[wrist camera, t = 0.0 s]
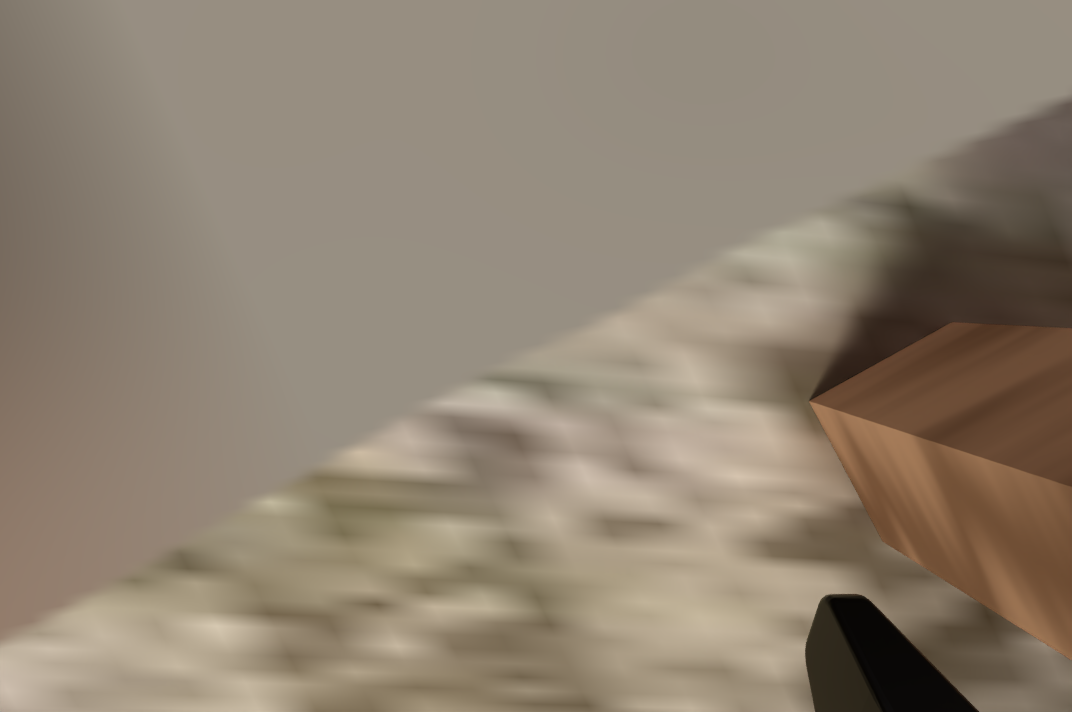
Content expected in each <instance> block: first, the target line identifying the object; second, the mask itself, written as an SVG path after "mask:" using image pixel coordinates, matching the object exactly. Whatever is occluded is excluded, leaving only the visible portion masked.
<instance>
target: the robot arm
mask: <svg viewBox="0 0 1072 712" xmlns="http://www.w3.org/2000/svg"><path fill="white" fill-rule="evenodd" d="M805 657H806V666H807V672H808V677H809V682H810V687H811V692H812V698H813V703H814V708H815V712H979V711H978V710H977V709H976V708H975V707H974V706H973V705H972V704H971V703H970V702H969V701H968V700H967V699H966V698H965V697H964V696H963V695H962V694H961V693H960V692H959V691H958V690H957V689H956V688H955V687H954V686H953V685H952V684H951V683H950V682H949V681H948V680H947V679H946V678H945V677H944V676H943V674H942V673H941V672H940V671H939V670H938V669H937V668H936V667H935V666H934V665H933V664H932V663H931V662H930V661H929V660H928V659H927V658H926V657H925V656H924V655H923V654H922V653H921V652H920V651H919V650H918V649H917V648H916V647H915V646H914V645H913V644H912V643H911V642H910V641H909V640H908V639H907V638H906V637H905V636H904V635H903V634H902V633H901V632H900V631H899V629H898V628H897V627H896V626H895V625H894V624H893V623H892V622H891V621H890V620H889V619H888V618H887V617H886V616H885V615H884V614H883V613H882V612H881V611H880V610H879V609H878V608H877V607H876V606H875V605H874V604H873V603H872V602H871V601H870V600H869V599H867V598H866V597H864V596H862V595H858V594H830V595H826V596H824V597H823V598H822V599H821V601H820V603H819V605H818V608H817V611H816V614H815V617H814V620H813V623H812V626H811V629H810V632H809V635H808V638H807V642H806V648H805Z"/></svg>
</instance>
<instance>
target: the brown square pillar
mask: <svg viewBox="0 0 1072 712" xmlns="http://www.w3.org/2000/svg"><path fill="white" fill-rule="evenodd" d="M809 402H810V404H811V406H812V408H813V410H814V412H815V414H816V415H817V417H818V419H819V421H820V423H821V425H822V427H823V429H824V431H825V433H826V434H827V436H828V438H829V440H830V442H831V444H832V446H833V448H834V450H835V452H836V453H837V455H838V457H839V459H840V461H841V463H842V465H843V467H844V469H845V471H846V472H847V474H848V476H849V478H850V480H851V482H852V484H853V486H854V488H855V490H856V491H857V493H858V495H859V497H860V499H861V501H862V503H863V505H864V507H865V509H866V510H867V512H868V514H869V516H870V518H871V520H872V522H873V524H874V526H875V528H876V529H877V531H878V533H879V535H880V537H881V539H882V541H883V542H885V543H886V544H888V545H889V546H891V547H893V548H894V549H896V550H897V551H899V552H900V553H902V554H904V555H905V556H907V557H908V558H910V559H912V560H913V561H915V562H916V563H918V564H920V565H921V566H923V567H924V568H926V569H927V570H929V571H931V572H932V573H934V574H935V575H937V576H939V577H940V578H942V579H943V580H945V581H947V582H948V583H950V584H951V585H953V586H954V587H956V588H958V589H959V590H961V591H962V592H964V593H966V594H967V595H969V596H970V597H972V598H974V599H975V600H977V601H978V602H980V603H981V604H983V605H985V606H986V607H988V608H989V609H991V610H993V611H994V612H996V613H997V614H999V615H1001V616H1002V617H1004V618H1005V619H1007V620H1008V621H1010V622H1012V623H1013V624H1015V625H1016V626H1018V627H1020V628H1021V629H1023V630H1024V631H1026V632H1028V633H1029V634H1031V635H1032V636H1034V637H1035V638H1037V639H1039V640H1040V641H1042V642H1043V643H1045V644H1047V645H1048V646H1050V647H1051V648H1053V649H1055V650H1056V651H1058V652H1059V653H1061V654H1062V655H1064V656H1066V657H1067V658H1069V659H1070V660H1072V328H1058V327H1038V326H1017V325H997V324H977V323H957V322H951V323H949V324H948V325H946V326H944V327H942V328H940V329H939V330H937V331H935V332H933V333H931V334H930V335H928V336H926V337H924V338H922V339H920V340H919V341H917V342H915V343H913V344H911V345H910V346H908V347H906V348H904V349H902V350H901V351H899V352H897V353H895V354H893V355H892V356H890V357H888V358H886V359H884V360H882V361H881V362H879V363H877V364H875V365H873V366H872V367H870V368H868V369H866V370H864V371H863V372H861V373H859V374H857V375H855V376H854V377H852V378H850V379H848V380H846V381H844V382H843V383H841V384H839V385H837V386H835V387H834V388H832V389H830V390H828V391H826V392H825V393H823V394H821V395H819V396H817V397H816V398H814V399H812V400H810V401H809Z"/></svg>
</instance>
